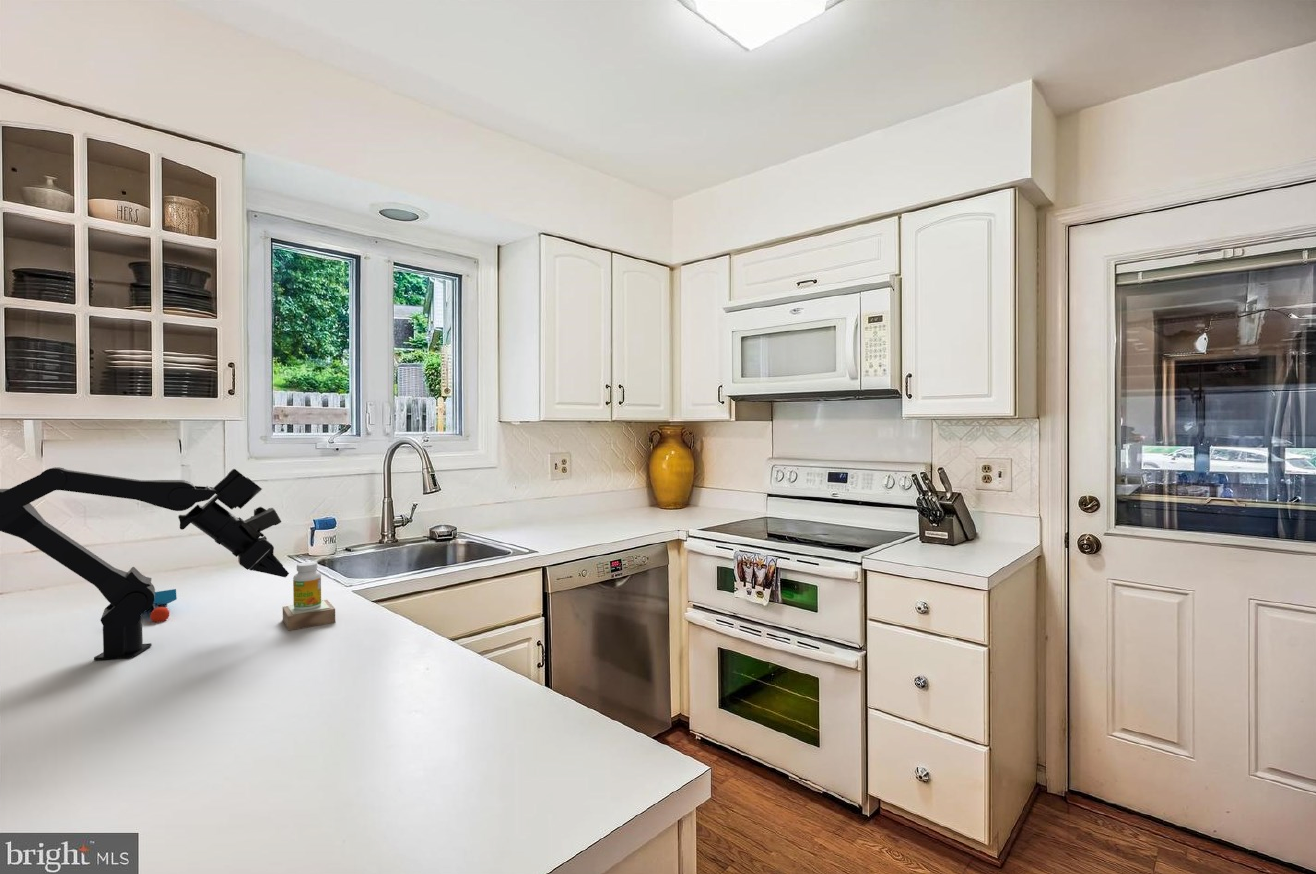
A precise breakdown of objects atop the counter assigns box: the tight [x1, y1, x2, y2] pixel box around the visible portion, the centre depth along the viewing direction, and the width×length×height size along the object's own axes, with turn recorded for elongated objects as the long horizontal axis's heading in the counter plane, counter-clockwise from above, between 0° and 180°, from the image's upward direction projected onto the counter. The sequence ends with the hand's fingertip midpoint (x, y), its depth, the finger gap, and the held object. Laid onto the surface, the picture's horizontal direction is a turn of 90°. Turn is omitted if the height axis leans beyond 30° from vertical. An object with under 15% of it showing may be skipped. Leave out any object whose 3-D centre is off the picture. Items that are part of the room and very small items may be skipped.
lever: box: [150, 588, 178, 623], centre depth 145 cm, size 7×7×18 cm
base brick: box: [282, 599, 336, 631], centre depth 139 cm, size 9×9×3 cm
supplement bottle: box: [292, 561, 322, 610], centre depth 139 cm, size 5×5×10 cm
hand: (284, 571), depth 136 cm, fingers open, 9 cm apart
